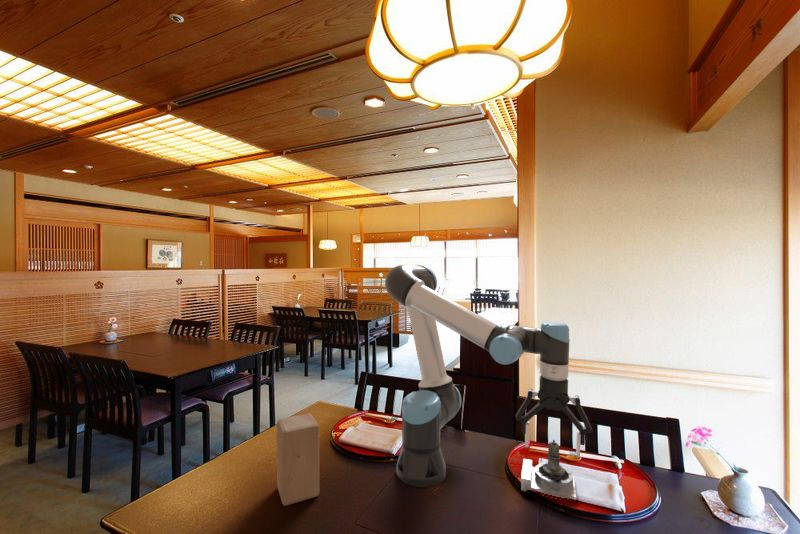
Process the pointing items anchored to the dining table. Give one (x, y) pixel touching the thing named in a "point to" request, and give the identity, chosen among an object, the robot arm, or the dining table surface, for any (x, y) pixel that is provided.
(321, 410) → the dining table surface
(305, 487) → the wooden block
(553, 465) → the grey tall piece
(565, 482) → the mount
